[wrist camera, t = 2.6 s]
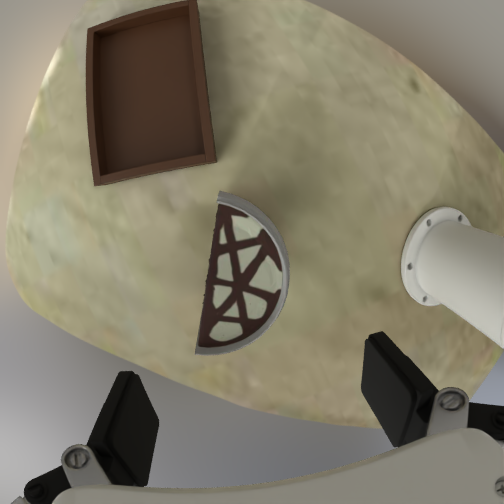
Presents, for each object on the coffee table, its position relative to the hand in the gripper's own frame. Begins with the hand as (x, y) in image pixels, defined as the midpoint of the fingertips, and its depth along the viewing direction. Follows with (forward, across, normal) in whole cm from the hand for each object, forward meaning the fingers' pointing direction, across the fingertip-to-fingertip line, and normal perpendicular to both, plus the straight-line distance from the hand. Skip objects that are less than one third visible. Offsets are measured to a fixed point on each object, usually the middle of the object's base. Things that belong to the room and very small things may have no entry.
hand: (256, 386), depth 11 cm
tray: (+19, +6, -18) cm, 27 cm away
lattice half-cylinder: (+19, -1, 0) cm, 19 cm away
